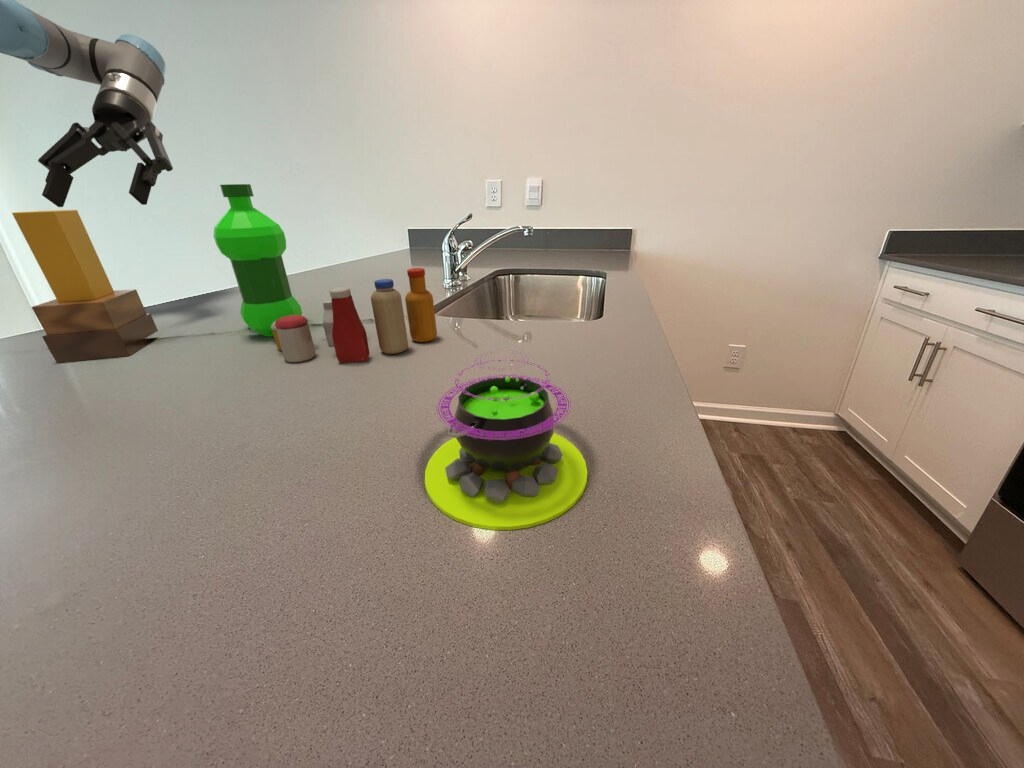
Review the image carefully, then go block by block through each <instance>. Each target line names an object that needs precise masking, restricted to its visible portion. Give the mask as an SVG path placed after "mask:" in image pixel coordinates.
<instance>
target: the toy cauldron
mask: <svg viewBox="0 0 1024 768" xmlns="http://www.w3.org/2000/svg"><path fill="white" fill-rule="evenodd" d="M496 352H500V349H497V350H496V351H493V354H494V353H496ZM509 352H511V353H513V354H514V353H515V354H516V355H519V356H521V357H522V358H523V360H522V361H521V360H519V359H518V360H516V362H518V363H520V364H518V365H515V366H514V369H515V370H517V369H519V368H521V367H524V366H525V365H533V366H536V367H537V368H538V369H540V370H541V371H542V372H544V371H545V372H544V375H545V376H546V379H545V380H544V379H541V378H539V377H535V376H532V378H531V376H530V375H526V374H525V375H521V374H518V373H517V374H515V373H513V374H502V373H501V374H494V375H491V374H490V375H486V376H480V377H477V378H473V379H468V380H466V381H464V382H462V383H461V382H460V380H459V379H460V377H461V376H462V375H463V373H464V372H466V371H467V370H469V369H471V368H474V367H475V366H477V367H479V368H482V369H484V370H486V368H487V371H490V370H492V367H490V366H487V365H485V367H483V366H484V364H487V363H489V360H487V361H481V360H482V358H484V357H485V356H488V355H491V354H492V352H489V353H483V354H480V355H478V356H477V357H476V359H477V360H479V361H477V360H474V361H475V364H472V365H469V366H468V367H465V368H464V369H462V370H461V371H460V372H458V374H457V375H456V377H455V378H454V384H455V386H453V387H450V389H448V390H447V391H445V393H443V394H442V396H441V397H440V398H439V399H438V401H437V403H436V407H435V410H436V415H437V417H438V419H439V420H440V421H441V423H442V424H443V425H444V426H446V427H448V428H447V435H448V436H449V437H450V438H451V439H449V440H448V441H446V442H444V443H443V444H442V445H440V447H439V448H438V449H436V451H435V452H434V453H433V454H432V456H431V457H430V459H429V460H428V462H427V465H426V467H425V470H424V487H425V491H426V494H427V496H428V498H429V499H430V501H431V503H432V505H434V506H435V507H436V508H438V510H439V511H440V512H441V513H443V515H446V516H447V517H448V518H451V519H453V520H454V521H456V522H458V523H462V524H464V525H467V526H470V527H473V528H479V529H483V530H489V531H492V530H493V531H514V530H521V529H528V528H532V527H536V526H539V525H542V524H546V523H548V522H550V521H552V520H554V519H556V518H558V517H560V516H562V515H564V514H565V513H566V512H567V511H568V510H570V509H571V508H572V507H574V506H575V505H576V503H577V502H578V501H579V500H580V499H581V498H582V496H583V494H584V492H585V489H586V487H587V484H588V468H587V463H586V462H587V461H586V460H585V458H584V457H583V454H582V453H581V452H580V450H579V449H578V448H577V447H576V446H575V444H573V443H572V442H571V441H569V440H568V439H566V438H565V437H564V436H562V435H559V434H558V433H556V432H554V428H556V427H557V426H558V425H559V424H561V423H562V422H563V421H565V419H567V417H568V416H569V414H570V412H571V410H572V401H571V399H570V397H569V395H568V394H567V393H565V392H564V391H563V389H562V387H559V386H558V385H557V384H553V383H551V379H550V373H549V372H548V371H547V370H546V369H545V368H544V367H543V366H541V365H539V364H536V363H534V362H530V361H529V360H528V359H529V357H528V356H527V355H526V354H525V353H523V352H520V351H517V350H510V349H509ZM525 358H526V359H525ZM505 361H506V362H515V359H498V362H505ZM491 362H494V359H493V360H491ZM512 370H513V366H511V367H510V371H512ZM495 371H497V372H498V371H499V372H501V371H502V372H503V371H507V367H505V368H498V367H497V368H495V367H494V372H495ZM547 391H548V392H550V393H551V394H552V395H553V396H554V399H555V400H556V402H555V404H556V407H555V410H553V408H552V405H551V402H550V398H549V393H548V392H547ZM459 393H460V394H459ZM458 394H459V396H458V403H457V407H456V410H455V413H454V415H453V413H452V411H451V404H452V403H453V399H454V398H455V397H456V395H458ZM452 431H454V432H455V433H454V432H452Z"/></svg>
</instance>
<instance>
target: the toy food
mask: <svg viewBox="0 0 1024 768" xmlns="http://www.w3.org/2000/svg"><path fill="white" fill-rule="evenodd" d="M406 272H407V277H408V282H409V288H410V291H408V292H407V293H406V295H405V297H404V302H405V308H406V315H407V321H408V322H407V323H408V327H409V328H408V329H409V335H410V338H411V340H413V341H414V342H417V343H428V342H431V341H434V340H435V339H436V337H437V336H438V329H437V321H436V312H435V306H434V305H435V303H434V298H433V294H432V293H431V292H430V291H429V290H427V286H426V277H425V276H426V271H425V268H422V267H412V268H408V269H407V271H406ZM373 283H374V288H375V290H374V291H373V292H372V293H371V296H370V302H371V307H372V313H373V318H374V325H375V329H376V335H377V340H378V347H379V349H380V351H381V352H382V353H384V354H387V355H396V354H397V355H398V354H400V353H403V352H405V351H406V350H407V349H408V347H409V340H408V333H407V327H406V320H405V314H404V307H403V301H402V295H401V293H400V291H398V290H397V289H395V288H394V286H395V284H394V280H393V279H391V278H380V279H376V280H374V281H373ZM329 294H330V296H329V297H330V298H331V300H325V301H323V302H322V305H323V317H322V326H323V330H324V335H325V338H326V342H327V345H328V346H332V347H334V352H335V355H336V359H337V361H338V362H339V363H343V364H346V363H347V364H348V363H349V364H350V363H351V364H352V363H364V362H366V361H367V360H368V359H369V357H370V348H369V341H368V336H367V331H366V328H365V326H364V324H363V322H362V320H361V317H360V316H359V313H358V311H357V309H356V306H355V302H354V299H353V296H352V293H351V288H350V287H346V286H344V287H343V286H341V287H334V288H331V289H329ZM308 322H309V320H308V319H307V318H306V317H305V316H304V315H289V316H284V317H281V318H279V319H277V320H276V321H275V322H273V323H272V325H271V329H272V331H273V335H274V336H273V338H274V341H275V345H276V348H277V349H278V350H279V351H281V352H282V355H283V358H284V360H285V362H288V363H301V362H305V361H309V360H311V359H313V358H314V357H315V356H316V354H317V353H316V349H315V344H314V341H313V337H312V333H311V328H310V325H309V323H308Z"/></svg>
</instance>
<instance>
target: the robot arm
mask: <svg viewBox="0 0 1024 768" xmlns="http://www.w3.org/2000/svg"><path fill="white" fill-rule="evenodd" d="M0 54H3V55H7V56H10V57H12V58H17V59H20V60H22V61H25V62H27V63H28V64H29V65H30V66H31V67H33V68H35V69H37V70H39V71H43V72H46V73H48V74H52V75H55V76H56V77H65V78H70V79H73V80H77V81H81V82H85V83H90V84H94V85H99V86H100V87H99V89H98V92H97V94H96V96H95V99H94V102H93V104H92V107H91V112H92V116H93V120H94V121H93V122H92V124H91V125H90V126H88V127H86V126H82V125H81V124H80V123H79V122H73V123H72V124H71V126H70V127H69V129H68V130H67V132H66V133H65V134H64V135H63V136H62V137H61V138H59V140H57V141H56V142H55V143H54V144H53V145H52V146H51V147H50V148H49V149H47V150H46V152H44V153H42V155H41V156H40V157H39V158H38V159H37V162H38V163H39V164H40V165H42V166H43V167H44V168H45V169H47V170H48V171H47V175H46V177H45V185H44V188H43V190H42V193H41V196H42V197H44V198H45V199H46V200H48V201H49V202H50V203H52V204H53V205H55V206H56V207H57V208H64V206H65V203H66V200H67V198H68V194H69V192H70V189H71V186H72V183H73V181H74V176H73V175H71V174H73V173H74V172H76V171H77V170H79V169H81V167H83V166H85V165H87V164H88V163H89V162H90V161H92V160H94V159H95V158H97V157H98V156H101V157H104V156H105V155H107V154H108V153H111V152H113V153H115V152H128V151H129V150H132V151H133V152H134V153H135V154H136V155H137V156H138V158H139V159H140V160H141V161H142V162H137V163H136V165H135V166H136V167H135V170H134V174H133V177H132V180H131V183H130V186H129V190H128V194H129V195H130V196H132V197H133V198H134V199H135V200H136V201H137V202H138V203H139V204H141V205H142V206H147V205H148V201H149V197H150V194H151V190H152V187H155V185H156V184H157V179H158V176H159V175H160V174H162V171H166V172H171V171H173V169H174V168H173V165H172V163H171V160H170V158H169V155H168V152H167V151H166V148H165V146H164V143H163V137H164V135H163V134H162V132H161V131H160V129H159V128H157V126H156V125H155V124H154V123H153V121H154V120H153V119H154V116H155V112H156V109H157V104H158V100H159V97H160V94H161V92H162V88H163V86H164V85H165V81H166V79H165V77H166V72H167V66H166V61H165V60H164V57H163V56H162V54H161V53H160V52H159V50H157V48H156V47H154V45H152V44H151V43H150V42H149V41H147V40H146V39H143V38H142V37H140V36H137V35H134V34H129V33H127V34H121V35H120V36H118V37H117V38H116V39H115V41H114V42H113V41H108V40H104V39H101V38H97V37H93V36H89V35H85V34H82V33H79V32H76V31H72V30H70V29H67V28H65V27H63V26H62V25H60V24H58V23H56V22H53V21H51V20H50V19H48V18H46V17H44V16H42V15H40V13H39V14H38V13H37V12H35V11H34V10H31V9H30V8H28V7H26V6H25V5H23V4H22V3H20V2H18V1H17V0H0ZM93 139H94V140H95V142H96V143H97V144H98V145H99V146H100V147H99V146H97V144H96V143H94V142H93ZM144 140H147V142H148V144H149V147H150V149H151V152H152V154H153V156H154V158H153V159H152V158H151V157H150V156H149V155H148V153H147V152H146V151H145V150H144V149H143V148H142V147H141V145H139V143H140V142H142V141H144Z"/></svg>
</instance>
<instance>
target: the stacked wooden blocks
mask: <svg viewBox="0 0 1024 768" xmlns="http://www.w3.org/2000/svg"><path fill="white" fill-rule="evenodd" d="M31 310H32V311H33V313H34V315H35V316H36V318H37V320H38V322H39V324H40V325H41V327H42V329H43V331H44V333H45V335H42V336H41V338H42V339H43V341H44V343H45V345H46V347H47V348H48V350H49V352H50V353H51V355H52V357H53V359H54V361H55V363H56V364H61V363H62V364H63V363H71V362H72V363H73V362H80V361H81V362H82V361H83V362H84V361H92V360H103V359H113V358H122V357H130V356H132V355H133V354H135V353H136V352H139V351H140V350H141V349H143V348H145V347H146V346H148V345H150V344H151V343H153V342H154V341H156V340H158V339H159V338H160V337H158V336H157V337H150V336H151V335H153V334H155V333H157V332H158V331H159V330H158V328H157V325H156V323H155V320H154V318H153V316H152V313H147V311H146V309H145V307H144V304H143V302H142V300H141V297H140V295H139V292H138V290H137V289H136V288H134V289H119V290H114V293H112V294H110V295H107V296H104V297H101V298H99V299H96V300H84V301H70V302H58V301H57V299H56V298H55V299H52V300H49V301H46V302H42V303H40V304H36V305H34V306H31Z"/></svg>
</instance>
